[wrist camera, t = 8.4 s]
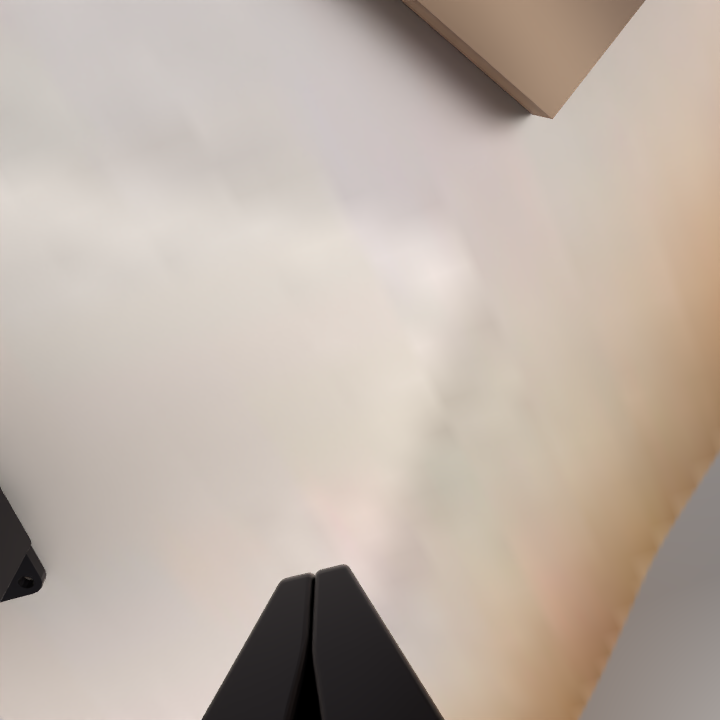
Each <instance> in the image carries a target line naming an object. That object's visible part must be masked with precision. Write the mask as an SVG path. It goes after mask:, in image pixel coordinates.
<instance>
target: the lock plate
mask: <svg viewBox="0 0 720 720" xmlns="http://www.w3.org/2000/svg"><path fill="white" fill-rule="evenodd" d="M401 1H402V2H403V3H405V4H406V5H407V6H408V7H409V8H410V9H412V10H413V11H414V12H415V13H416V14H417V15H418V16H420V17H421V18H422V19H423V20H424V21H425V22H426V23H428V24H429V25H430V26H431V27H432V28H433V29H435V30H436V31H437V32H438V33H439V34H440V35H441V36H443V37H444V38H445V39H446V40H447V41H448V42H449V43H451V44H452V45H453V46H454V47H455V48H456V49H458V50H459V51H460V52H461V53H462V54H463V55H464V56H466V57H467V58H468V59H469V60H470V61H471V62H473V63H474V64H475V65H476V66H477V67H478V68H479V69H481V70H482V71H483V72H484V73H485V74H486V75H487V76H489V77H490V78H491V79H492V80H493V81H494V82H496V83H497V84H498V85H499V86H500V87H501V88H502V89H504V90H505V91H506V92H507V93H508V94H509V95H511V96H512V97H513V98H514V99H515V100H516V101H517V102H519V103H520V104H521V105H522V106H523V107H524V108H525V109H527V110H528V111H529V112H530V113H531V114H532V115H537V116H541V117H546V118H551V119H553V118H554V116H555V115H556V114H557V113H558V111H559V110H560V109H561V107H562V106H563V105H564V104H565V102H566V101H567V100H568V98H569V97H570V96H571V95H572V93H573V92H574V91H575V90H576V88H577V87H578V86H579V84H580V83H581V82H582V81H583V79H584V78H585V77H586V75H587V74H588V73H589V72H590V70H591V69H592V68H593V66H594V65H595V64H596V63H597V61H598V60H599V59H600V58H601V56H602V55H603V54H604V52H605V51H606V50H607V49H608V47H609V46H610V45H611V43H612V42H613V41H614V40H615V38H616V37H617V36H618V35H619V33H620V32H621V31H622V29H623V28H624V27H625V26H626V24H627V23H628V22H629V20H630V19H631V18H632V17H633V15H634V14H635V13H636V12H637V10H638V9H639V8H640V6H641V5H642V4H643V3H644V1H645V0H401Z"/></svg>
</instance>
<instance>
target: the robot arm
mask: <svg viewBox="0 0 720 720" xmlns="http://www.w3.org/2000/svg"><path fill="white" fill-rule="evenodd" d="M24 576H28V577H30V578H32V579H33V580H29V579H26V578H25V577H24ZM45 579H46V571H45V569H44V567H43V566H42V564H41V562H40V560H39V559H38V557H37V555H36V553H35V552H34V550H33V548H32V546H31V540H30V538H29V537H28V535H27V533H26V531H25V530H24V528H23V526H22V524H21V523H20V521H19V519H18V517H17V516H16V514H15V512H14V510H13V509H12V507H11V505H10V503H9V502H8V500H7V498H6V497H5V495H4V493H3V491H2V490H1V488H0V602H3V601H7V600H10V599H14V598H18V597H22V596H26V595H30V594H33V593H36V592H38V591H39V590H40V589H41V587H42V585H43V583H44V581H45ZM202 720H444V718H443V717H442V715H441V713H440V712H439V710H438V709H437V707H436V705H435V704H434V702H433V701H432V699H431V697H430V696H429V694H428V693H427V691H426V689H425V688H424V686H423V685H422V683H421V681H420V680H419V678H418V677H417V675H416V673H415V672H414V670H413V669H412V667H411V665H410V664H409V662H408V661H407V659H406V657H405V656H404V654H403V653H402V651H401V649H400V648H399V646H398V645H397V643H396V641H395V640H394V638H393V637H392V635H391V633H390V632H389V630H388V629H387V627H386V625H385V624H384V622H383V621H382V619H381V617H380V616H379V614H378V613H377V611H376V609H375V608H374V606H373V605H372V603H371V601H370V600H369V598H368V597H367V595H366V593H365V592H364V590H363V589H362V587H361V585H360V584H359V582H358V581H357V579H356V577H355V576H354V574H353V573H352V571H351V569H350V568H349V567H348V566H347V565H344V564H343V565H338V566H334V567H330V568H326V569H322V570H319V571H318V572H317V573H316V574H315V575H314V574H312V573H305V574H301V575H297V576H293V577H289V578H285V579H283V580H282V581H281V582H280V583H279V584H278V586H277V588H276V590H275V591H274V593H273V595H272V597H271V598H270V600H269V602H268V604H267V605H266V607H265V609H264V611H263V612H262V614H261V616H260V618H259V619H258V621H257V623H256V625H255V627H254V628H253V630H252V632H251V634H250V635H249V637H248V639H247V641H246V642H245V644H244V646H243V648H242V649H241V651H240V653H239V655H238V656H237V658H236V660H235V662H234V664H233V665H232V667H231V669H230V671H229V672H228V674H227V676H226V678H225V679H224V681H223V683H222V685H221V686H220V688H219V690H218V692H217V693H216V695H215V697H214V699H213V701H212V702H211V704H210V706H209V708H208V709H207V711H206V713H205V715H204V716H203V718H202Z"/></svg>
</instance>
